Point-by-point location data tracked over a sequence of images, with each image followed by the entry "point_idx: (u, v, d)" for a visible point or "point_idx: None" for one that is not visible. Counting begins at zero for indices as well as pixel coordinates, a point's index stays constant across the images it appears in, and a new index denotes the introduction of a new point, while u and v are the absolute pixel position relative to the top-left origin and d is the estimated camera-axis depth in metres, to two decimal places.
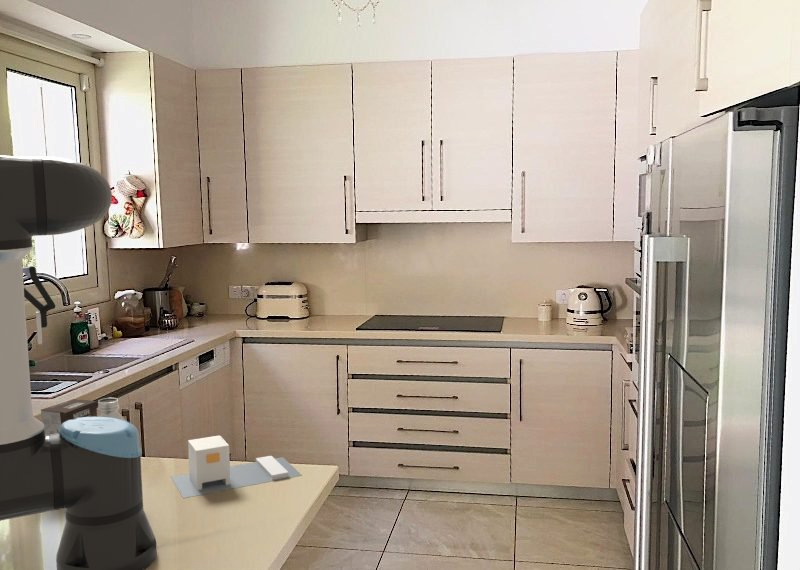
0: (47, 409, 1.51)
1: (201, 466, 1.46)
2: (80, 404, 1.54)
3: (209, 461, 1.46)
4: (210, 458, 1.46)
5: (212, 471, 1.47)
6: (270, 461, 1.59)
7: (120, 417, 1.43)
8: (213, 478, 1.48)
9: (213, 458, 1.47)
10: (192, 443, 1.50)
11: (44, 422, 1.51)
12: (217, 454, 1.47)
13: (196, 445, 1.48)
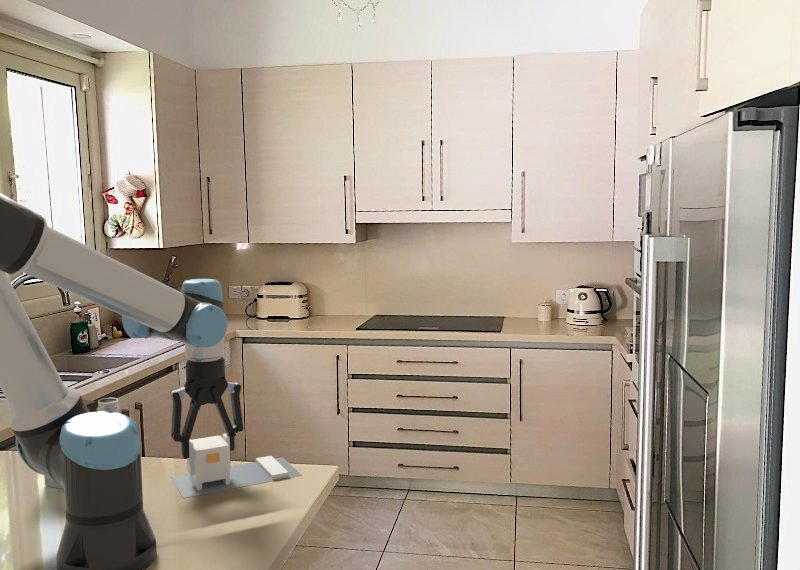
0: None
1: (201, 466, 1.46)
2: None
3: (209, 461, 1.46)
4: (210, 458, 1.46)
5: (212, 471, 1.47)
6: (270, 461, 1.59)
7: None
8: (213, 478, 1.48)
9: (213, 458, 1.47)
10: None
11: None
12: (217, 454, 1.47)
13: (196, 445, 1.48)
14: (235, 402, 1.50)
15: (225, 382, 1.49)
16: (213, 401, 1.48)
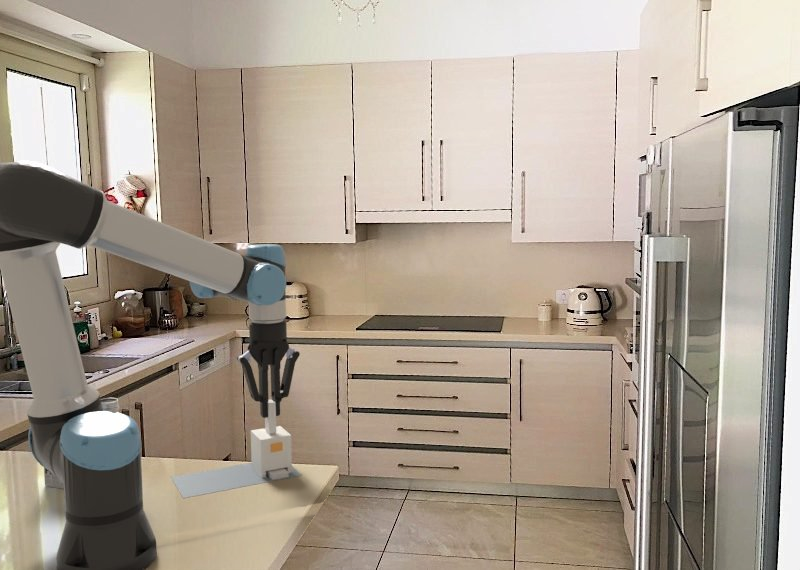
0: None
1: (265, 455, 1.52)
2: None
3: (273, 450, 1.52)
4: (274, 447, 1.52)
5: (275, 459, 1.53)
6: None
7: None
8: (276, 466, 1.54)
9: (276, 447, 1.53)
10: (255, 433, 1.56)
11: None
12: (280, 443, 1.53)
13: (260, 435, 1.54)
14: (289, 367, 1.55)
15: (287, 345, 1.54)
16: (272, 362, 1.53)
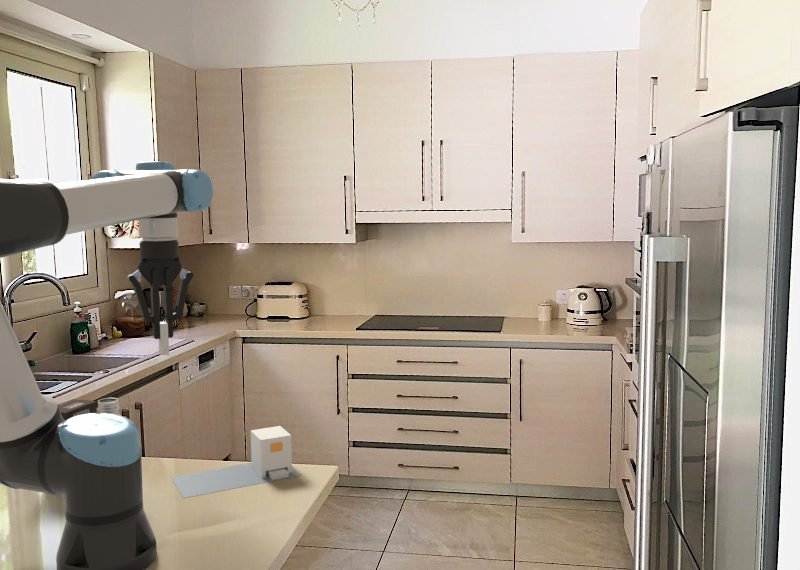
0: None
1: (265, 455, 1.52)
2: (80, 404, 1.54)
3: (273, 450, 1.52)
4: (274, 447, 1.52)
5: (275, 459, 1.53)
6: None
7: None
8: (276, 466, 1.54)
9: (276, 447, 1.53)
10: (255, 433, 1.56)
11: None
12: (280, 443, 1.53)
13: (260, 435, 1.54)
14: (182, 288, 1.53)
15: (180, 265, 1.52)
16: (163, 282, 1.51)
